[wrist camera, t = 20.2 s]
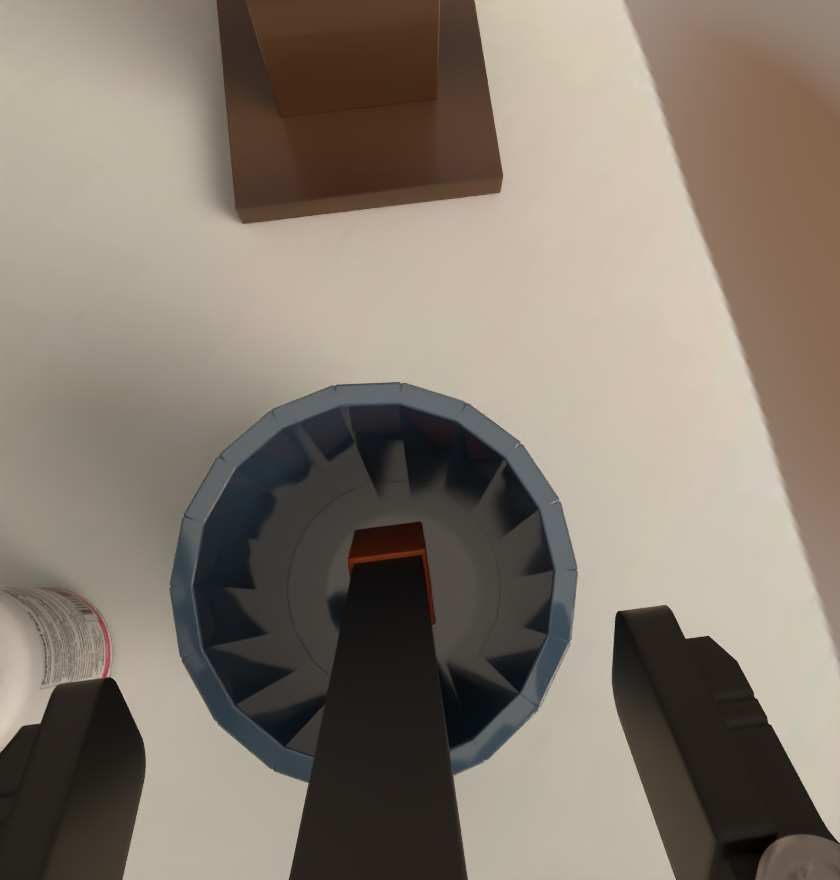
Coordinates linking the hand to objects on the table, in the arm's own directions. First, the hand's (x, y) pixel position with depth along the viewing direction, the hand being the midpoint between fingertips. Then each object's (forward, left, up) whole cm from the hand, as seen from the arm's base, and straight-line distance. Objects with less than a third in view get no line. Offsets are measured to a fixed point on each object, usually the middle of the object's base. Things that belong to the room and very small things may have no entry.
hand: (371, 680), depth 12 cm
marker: (0, 0, -5) cm, 5 cm away
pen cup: (0, +2, -16) cm, 16 cm away
